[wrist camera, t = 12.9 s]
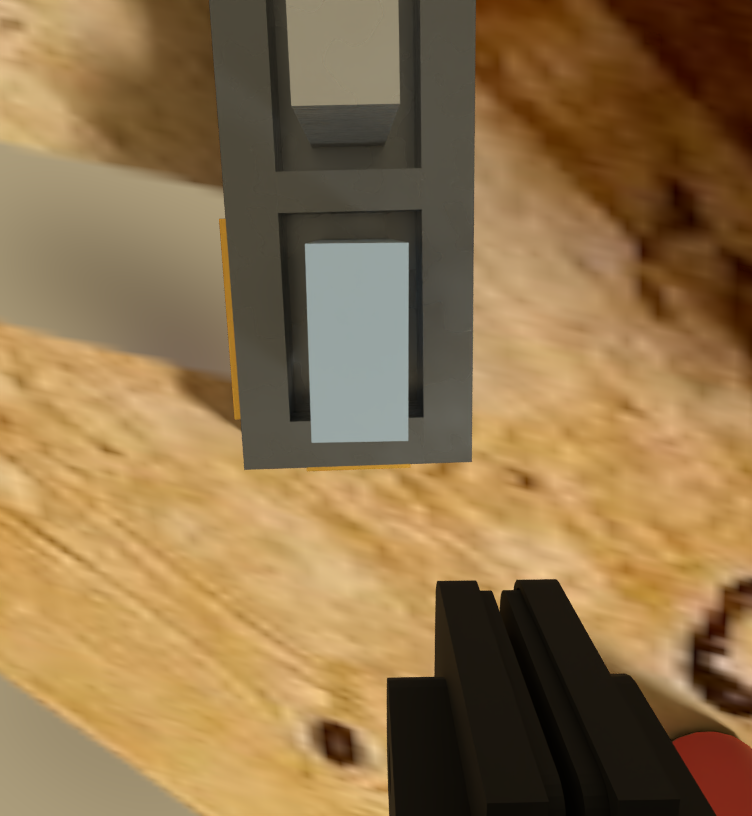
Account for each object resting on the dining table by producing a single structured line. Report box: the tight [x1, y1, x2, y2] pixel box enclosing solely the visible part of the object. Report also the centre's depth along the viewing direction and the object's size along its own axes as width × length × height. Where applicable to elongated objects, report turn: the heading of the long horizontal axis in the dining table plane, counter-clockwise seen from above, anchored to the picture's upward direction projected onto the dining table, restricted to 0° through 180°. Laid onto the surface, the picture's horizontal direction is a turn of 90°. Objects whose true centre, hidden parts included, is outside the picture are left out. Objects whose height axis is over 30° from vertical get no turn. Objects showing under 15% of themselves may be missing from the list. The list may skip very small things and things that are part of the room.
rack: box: [209, 0, 476, 471], centre depth 25 cm, size 10×22×11 cm, turn 1°
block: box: [305, 239, 409, 443], centre depth 26 cm, size 3×6×10 cm, turn 0°
